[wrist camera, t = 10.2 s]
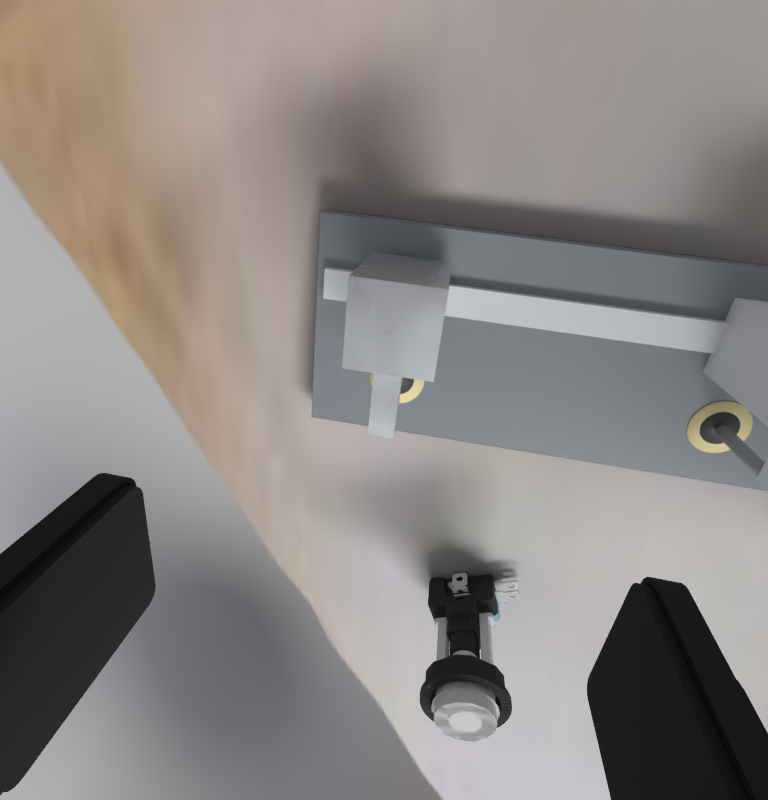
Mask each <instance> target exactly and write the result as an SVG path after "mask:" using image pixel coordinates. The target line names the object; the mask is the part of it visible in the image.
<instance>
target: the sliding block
mask: <svg viewBox="0 0 768 800" xmlns="http://www.w3.org/2000/svg"><path fill="white" fill-rule="evenodd" d="M450 272H451V262H444V261H436V260H429V259H421V258H414V257H406V256H398V255H391V254H383V253H376V252H373V253H372V254H371V255H370V256H369V257H367V258H366V259H365V260H364V261H363V262H362V263H361V264H360V265H359V266H358V267H357V268H356V269H355V270H354V271H353V272H352V273H351V274H350V275H349V277H348V292H347V306H346V320H345V334H344V349H343V363H342V368H344V369H350V370H357V371H363V372H370V373H374V376H373V386H372V396H371V405H370V415H369V425H368V435H373V436H379V437H385V438H391V439H393V438H394V434H395V429H396V423H397V415H398V408H399V400H400V393H401V386H402V383H403V379H402V378H409V379H416V380H422V381H429V382H434V377H435V371H436V365H437V358H438V352H439V346H440V340H441V334H442V328H443V322H444V316H445V310H446V304H447V298H448V292H449V283H450Z"/></svg>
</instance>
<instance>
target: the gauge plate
mask: <svg viewBox="0 0 768 800" xmlns="http://www.w3.org/2000/svg"><path fill="white" fill-rule="evenodd" d="M373 252H376V253H383V254H391V255H398V256H406V257H414V258H421V259H429V260H436V261H444V262H451V272H450V283H449V292H448V298H447V304H446V310H445V316H444V322H443V328H442V334H441V340H440V346H439V352H438V358H437V365H436V371H435V377H434V382H429V381H422V380H416V379H409V378H402V379H403V383H402V386H401V393H400V400H399V408H398V415H397V423H396V429H395V431H401V432H408V433H414V434H420V435H426V436H432V437H438V438H445V439H451V440H457V441H463V442H469V443H475V444H482V445H488V446H494V447H500V448H506V449H512V450H518V451H525V452H531V453H537V454H543V455H549V456H555V457H562V458H568V459H574V460H580V461H586V462H592V463H599V464H605V465H611V466H617V467H623V468H629V469H636V470H642V471H648V472H654V473H660V474H666V475H673V476H679V477H685V478H691V479H697V480H703V481H710V482H716V483H722V484H728V485H734V486H740V487H746V488H753V489H759V490H765V491H768V266H767V265H759V264H751V263H743V262H735V261H728V260H720V259H712V258H704V257H696V256H688V255H680V254H672V253H664V252H656V251H648V250H640V249H632V248H624V247H617V246H609V245H601V244H593V243H585V242H577V241H569V240H561V239H553V238H545V237H537V236H529V235H521V234H513V233H505V232H498V231H490V230H482V229H474V228H466V227H458V226H450V225H442V224H434V223H426V222H418V221H410V220H402V219H394V218H387V217H379V216H371V215H363V214H355V213H347V212H339V211H331V210H326V211H323V212H320V227H319V251H318V275H317V299H316V323H315V347H314V371H313V395H312V417H315V418H321V419H327V420H334V421H340V422H346V423H352V424H358V425H364V426H368V425H369V415H370V405H371V396H372V386H373V376H374V373H370V372H363V371H357V370H350V369H344V368H342V363H343V349H344V334H345V320H346V306H347V292H348V277H349V275H350V274H351V273H352V272H353V271H354V270H355V269H356V268H357V267H358V266H359V265H360V264H361V263H362V262H363V261H364V260H365V259H366V258H367V257H369V256H370V255H371V254H372V253H373Z"/></svg>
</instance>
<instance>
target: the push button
mask: <svg viewBox="0 0 768 800" xmlns="http://www.w3.org/2000/svg"><path fill="white" fill-rule="evenodd" d="M458 577H462V578H458ZM457 578H458V579H457ZM509 584H513V585H514V586H513V587H509V586H508V585H509ZM516 589H519V585H518V582H517V581H516V580H515V581H507V582H502V581H495V582H494V580H493V577H492V575H481V576H473V577H467V574H466V573H457V574H454V575H453V576H452V579H450V580H443V579H442V578H440V577H437V578H432V579H431V580H430V584H429V598H428V605H429V608H430V611H431V613H432V616H433V618H434V621H435V626H436V629H437V630H438V642H437V661H435V662H433V663H432V664H431V666H430V667H429V668H428V669H427V671H426V681H425V682H424V684H423V685H422V687H421V691H420V704H421V707H422V709H423V711H424V712H425V714H426V715H427V716H428V717H429V718H430V719H431V720H433V721H434V722H435V725H436V726H437V728H438V729H439V730H440V731H442V733H444V734H445V735H447V736H449V737H452V738H454V739H457V740H463V741H478V740H483V739H486V738H488V737H489V736H491V735H492V734H494V732H495V731H496V728H498V727H499V726H501V725H503V724H504V723H505V722H506V721H507V720H508V718H509V717H510V715H511V711H512V704H511V697H510V694H509V692H508V691H507V689H506V688H505V684H504V676H503V674H502V673H501V672H500V671H499V670H498V668H497V667H496V666H495V665H493V653H492V638H491V626H493V625H494V624H495V622H494V621H497V620H499V618H500V613H499V603H504V602H506V601H508V600H517V599H520V594H519V591H518V590H516ZM507 590H516V591H507ZM505 591H507V592H505ZM510 594H515V597H510ZM449 641H450V656H449ZM480 649H481V659H480V652H479V650H480Z"/></svg>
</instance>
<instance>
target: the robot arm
mask: <svg viewBox="0 0 768 800" xmlns="http://www.w3.org/2000/svg"><path fill="white" fill-rule="evenodd" d="M154 592H155V579H154V571H153V564H152V557H151V550H150V542H149V536H148V529H147V521H146V514H145V507H144V499H143V493H142V490H141V489H140V488H139V487H136V483H135V481H134V480H133V479H131V478H128V477H122V476H117V475H112V474H107V473H101V474H98V475H96V476H95V477H93V478H92V479H91V480H90V481H89V482H87V483H86V484H85V485H84V486H82V487H81V488H80V489H79V490H78V491H76V492H75V493H74V494H73V495H72V496H70V497H69V498H68V499H67V500H66V501H64V502H63V503H62V504H61V505H59V506H58V507H57V508H56V509H55V510H53V511H52V512H51V513H50V514H48V516H46V517H45V518H44V519H43V520H41V521H40V522H39V523H38V524H36V525H35V526H34V527H33V528H31V529H30V530H29V531H28V532H27V533H25V534H24V535H23V536H22V537H21V538H19V539H18V540H17V541H16V542H15V543H13V544H12V545H11V546H10V547H9V548H7V549H6V550H5V551H4V552H2V553H1V554H0V795H1V794H2V793H3V792H8V791H10V790H11V789H13V788H14V787H15V786H16V785H17V784H18V783H19V782H20V781H21V779H22V778H23V777H24V776H25V774H26V773H27V771H28V770H29V769H30V767H31V766H32V764H33V763H34V762H35V760H36V759H37V757H38V756H39V755H40V753H41V752H42V751H43V749H44V748H45V747H46V745H47V744H48V743H49V741H50V740H51V738H52V737H53V736H54V734H55V733H56V731H57V730H58V729H59V728H60V726H61V725H62V723H63V722H64V721H65V719H66V718H67V717H68V715H69V714H70V712H71V711H72V710H73V708H74V707H75V706H76V704H77V703H78V702H79V700H80V699H81V697H82V696H83V695H84V693H85V692H86V691H87V689H88V688H89V686H90V685H91V684H92V682H93V681H94V680H95V678H96V677H97V675H98V674H99V673H100V671H101V670H102V669H103V667H104V666H105V665H106V663H107V662H108V660H109V659H110V658H111V656H112V655H113V653H114V652H115V651H116V649H117V648H118V647H119V645H120V644H121V643H122V641H123V640H124V639H125V637H126V636H127V634H128V633H129V632H130V630H131V629H132V628H133V626H134V625H135V623H136V622H137V621H138V619H139V618H140V617H141V615H142V614H143V613H144V611H145V610H146V608H147V607H148V606H149V604H150V602H151V600H152V598H153V596H154ZM587 696H588V701H589V706H590V710H591V714H592V719H593V723H594V727H595V732H596V736H597V740H598V744H599V749H600V753H601V757H602V762H603V766H604V770H605V775H606V779H607V783H608V788H609V792H610V796H611V800H768V733H767V731H766V730H765V728H764V726H763V724H762V722H761V720H760V718H759V717H758V715H757V713H756V711H755V709H754V707H753V705H752V703H751V702H750V700H749V698H748V696H747V694H746V692H745V691H744V689H743V688H742V686H741V685H740V683H739V682H738V681H737V680H736V678H735V676H734V674H733V673H732V671H731V669H730V667H729V665H728V663H727V661H726V659H725V658H724V656H723V654H722V652H721V650H720V648H719V646H718V644H717V643H716V641H715V639H714V637H713V635H712V633H711V631H710V629H709V627H708V626H707V624H706V622H705V620H704V618H703V616H702V614H701V612H700V611H699V609H698V607H697V605H696V603H695V601H694V599H693V597H692V596H691V594H690V592H689V590H688V589H687V587H686V586H685V585H683V584H682V583H678V582H673V581H667V580H662V579H657V578H652V577H646V578H645V579H643V581H642V582H641V584H638V583H634V584H633V585H632V586H631V588H630V590H629V592H628V594H627V596H626V598H625V600H624V603H623V605H622V607H621V609H620V611H619V613H618V615H617V618H616V620H615V622H614V624H613V626H612V628H611V630H610V633H609V635H608V637H607V639H606V641H605V643H604V645H603V648H602V650H601V652H600V654H599V656H598V658H597V660H596V663H595V665H594V667H593V669H592V671H591V673H590V675H589V678H588V683H587Z"/></svg>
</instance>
